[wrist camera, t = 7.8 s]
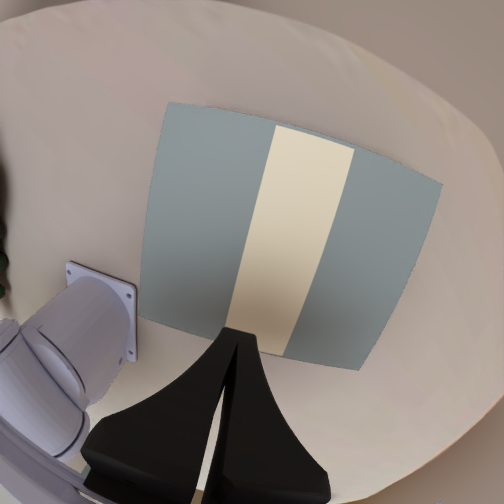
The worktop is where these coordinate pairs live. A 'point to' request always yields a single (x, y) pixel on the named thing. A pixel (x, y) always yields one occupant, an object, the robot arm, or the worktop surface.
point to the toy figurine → (2, 267)
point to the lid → (278, 235)
